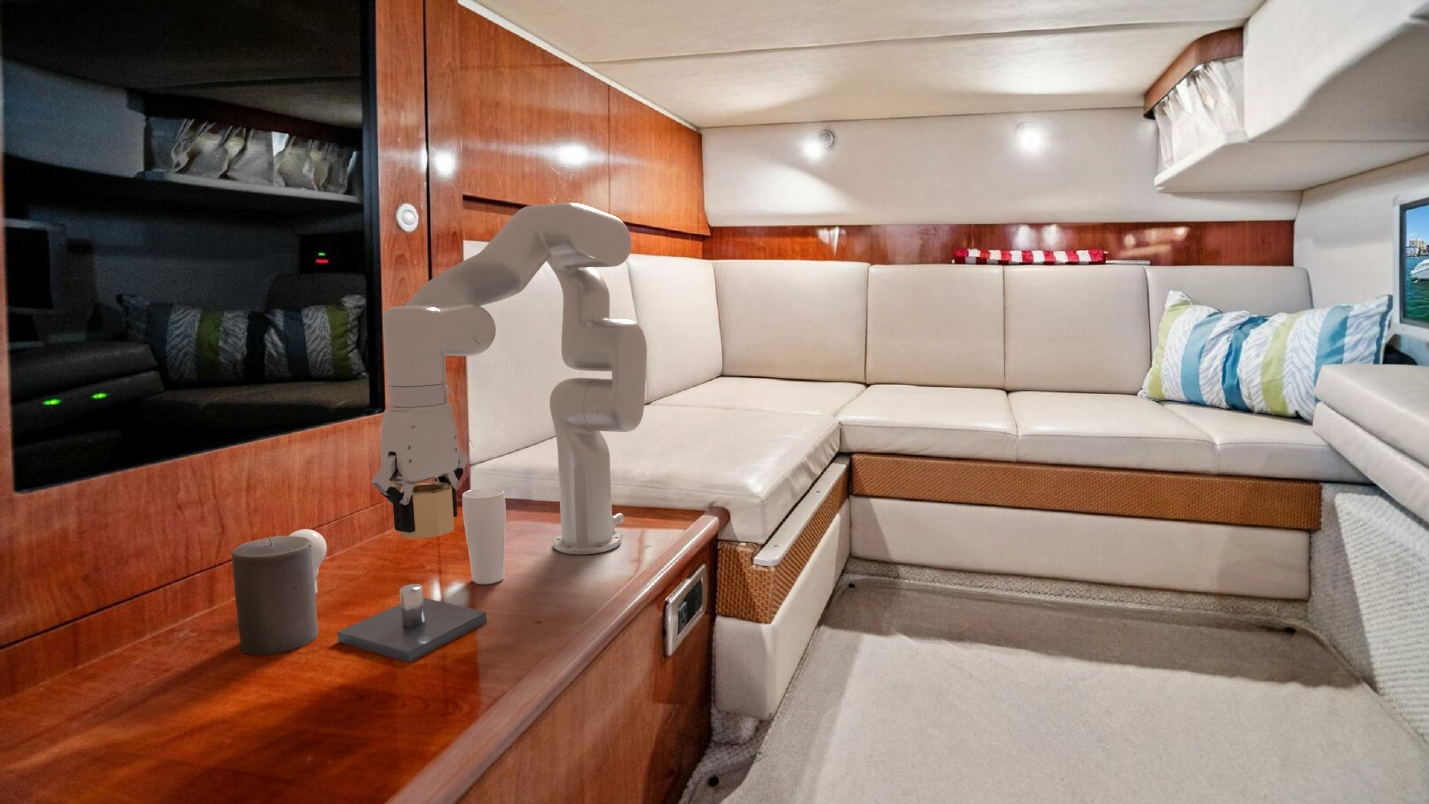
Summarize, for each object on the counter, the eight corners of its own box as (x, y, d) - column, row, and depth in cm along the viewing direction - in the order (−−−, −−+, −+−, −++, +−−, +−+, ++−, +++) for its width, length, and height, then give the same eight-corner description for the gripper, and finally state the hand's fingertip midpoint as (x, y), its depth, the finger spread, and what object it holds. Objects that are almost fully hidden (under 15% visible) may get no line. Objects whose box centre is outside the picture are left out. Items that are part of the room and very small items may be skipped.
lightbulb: (296, 590, 129) (290, 525, 127) (337, 588, 129) (331, 523, 128) (278, 605, 122) (272, 537, 121) (321, 603, 123) (315, 535, 121)
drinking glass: (497, 588, 128) (492, 498, 126) (459, 586, 129) (453, 497, 127) (516, 573, 134) (511, 488, 132) (479, 571, 136) (474, 486, 134)
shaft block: (418, 605, 121) (415, 565, 120) (486, 622, 115) (484, 579, 114) (338, 642, 109) (334, 597, 108) (409, 662, 103) (406, 615, 102)
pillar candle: (237, 662, 104) (227, 552, 102) (242, 634, 112) (232, 532, 110) (320, 646, 108) (311, 541, 106) (318, 620, 117) (310, 522, 115)
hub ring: (428, 520, 115) (425, 480, 114) (465, 526, 112) (462, 485, 111) (389, 534, 109) (386, 491, 108) (427, 540, 105) (424, 496, 105)
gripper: (445, 388, 117) (452, 505, 119) (344, 404, 101) (355, 537, 104) (484, 390, 114) (491, 510, 116) (386, 407, 98) (396, 545, 101)
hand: (426, 522), depth 110 cm, fingers closed on hub ring, 7 cm apart
